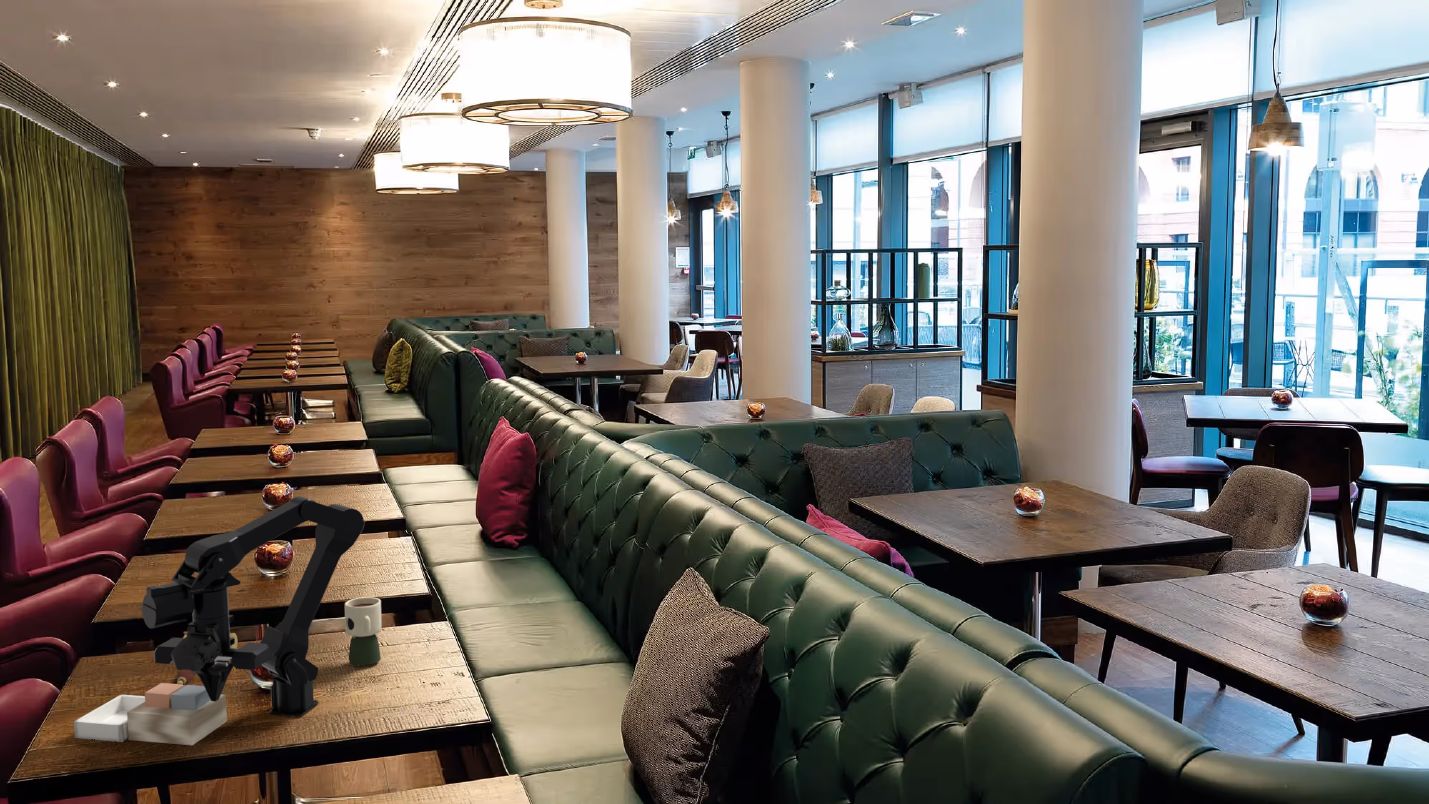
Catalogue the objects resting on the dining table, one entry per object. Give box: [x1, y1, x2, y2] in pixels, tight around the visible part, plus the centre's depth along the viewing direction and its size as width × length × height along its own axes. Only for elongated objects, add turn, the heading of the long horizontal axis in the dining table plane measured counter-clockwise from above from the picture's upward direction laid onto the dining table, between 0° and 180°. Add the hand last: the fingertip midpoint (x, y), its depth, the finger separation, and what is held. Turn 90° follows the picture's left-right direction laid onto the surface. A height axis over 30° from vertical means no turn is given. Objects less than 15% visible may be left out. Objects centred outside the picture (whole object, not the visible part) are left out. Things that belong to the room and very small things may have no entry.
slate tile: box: [171, 684, 211, 710], centre depth 193 cm, size 4×4×2 cm
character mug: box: [344, 596, 382, 667], centre depth 226 cm, size 11×7×13 cm, turn 27°
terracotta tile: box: [144, 682, 186, 708], centre depth 194 cm, size 4×4×2 cm
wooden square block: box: [127, 693, 228, 746], centre depth 194 cm, size 12×10×5 cm
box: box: [73, 694, 145, 743], centre depth 196 cm, size 9×12×3 cm
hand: (215, 700), depth 192 cm, fingers closed
